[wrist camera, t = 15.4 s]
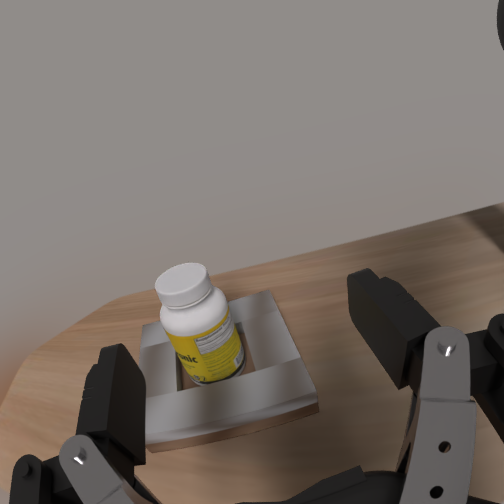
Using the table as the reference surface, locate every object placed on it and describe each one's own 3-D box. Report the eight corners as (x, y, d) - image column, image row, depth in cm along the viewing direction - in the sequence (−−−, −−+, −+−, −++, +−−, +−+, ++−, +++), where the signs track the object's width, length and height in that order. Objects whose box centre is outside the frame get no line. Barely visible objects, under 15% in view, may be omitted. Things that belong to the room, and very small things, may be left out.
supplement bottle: (180, 363, 28) (138, 277, 24) (228, 337, 30) (199, 249, 26) (203, 400, 24) (157, 310, 19) (258, 368, 26) (230, 273, 21)
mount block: (273, 311, 35) (269, 289, 33) (318, 411, 22) (316, 390, 21) (153, 345, 33) (142, 325, 32) (151, 452, 21) (134, 435, 20)
